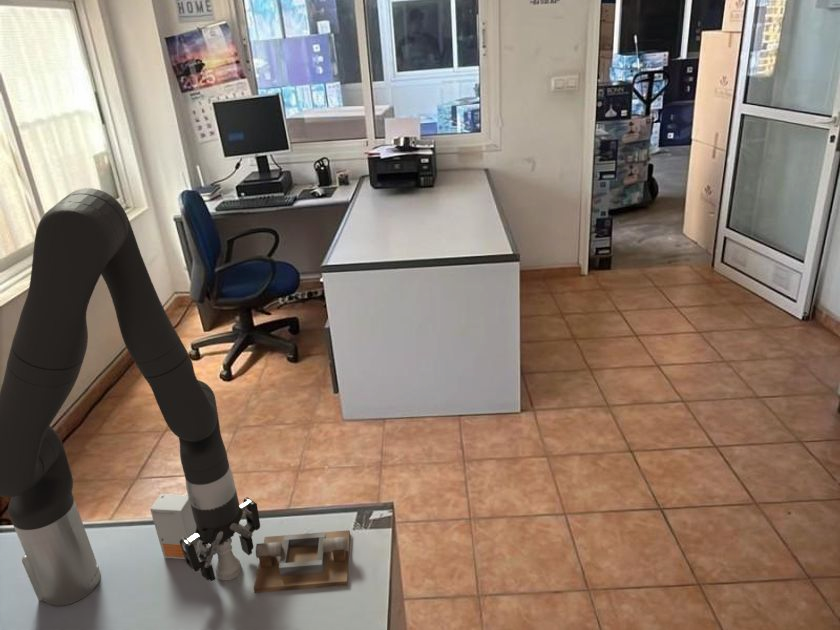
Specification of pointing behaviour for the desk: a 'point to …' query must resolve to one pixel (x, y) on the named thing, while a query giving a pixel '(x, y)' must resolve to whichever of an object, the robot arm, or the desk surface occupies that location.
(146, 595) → the desk surface
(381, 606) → the desk surface
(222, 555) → the rook chess piece
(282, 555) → the frame on base plate
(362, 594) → the desk surface
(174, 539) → the skincare box
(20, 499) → the robot arm
